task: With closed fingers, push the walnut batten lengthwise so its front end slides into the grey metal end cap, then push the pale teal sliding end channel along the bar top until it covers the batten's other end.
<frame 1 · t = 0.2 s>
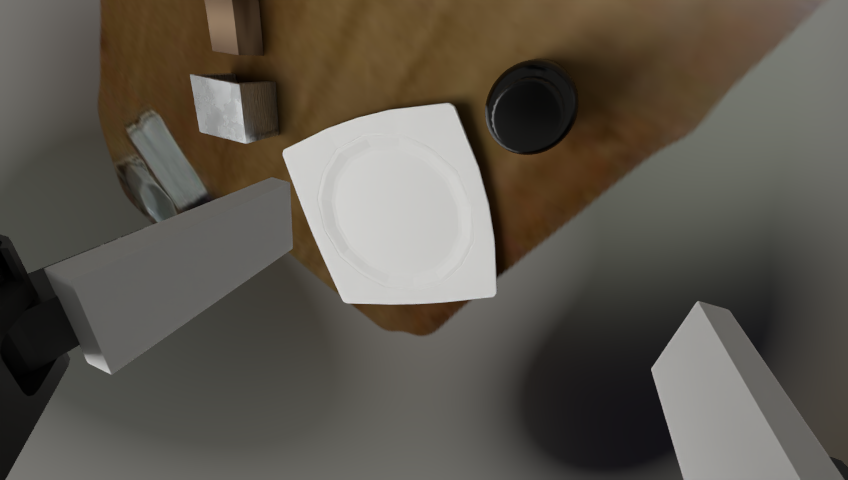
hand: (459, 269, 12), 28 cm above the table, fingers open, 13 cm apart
end cap A: (255, 102, 44), on the table
plate: (396, 213, 45), on the table
supplement bottle: (535, 99, 34), on the table
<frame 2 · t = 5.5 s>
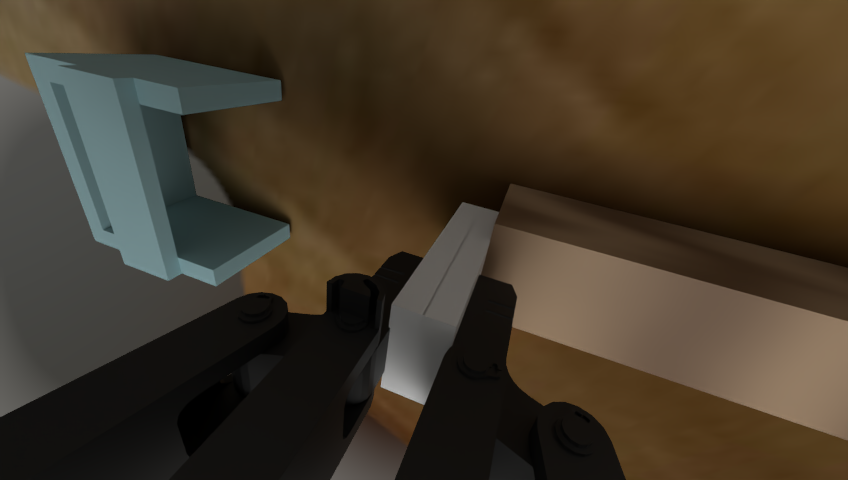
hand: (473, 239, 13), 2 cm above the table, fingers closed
batten: (654, 265, 13), on the table, touching gripper
sliding cap B: (177, 165, 15), point 3 cm above the table, slide at 0.0 cm
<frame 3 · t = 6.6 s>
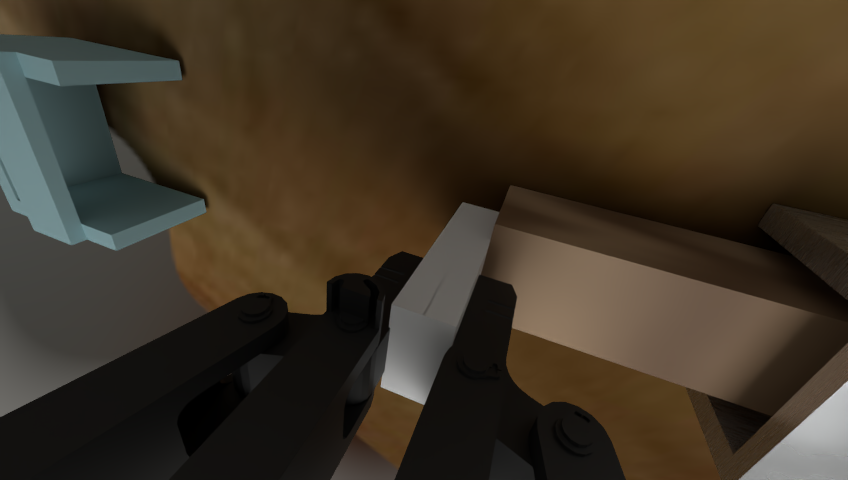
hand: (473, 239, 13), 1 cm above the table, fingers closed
end cap A: (809, 312, 12), on the table
batten: (654, 266, 13), on the table, touching gripper
sliding cap B: (85, 139, 16), point 3 cm above the table, slide at 0.0 cm
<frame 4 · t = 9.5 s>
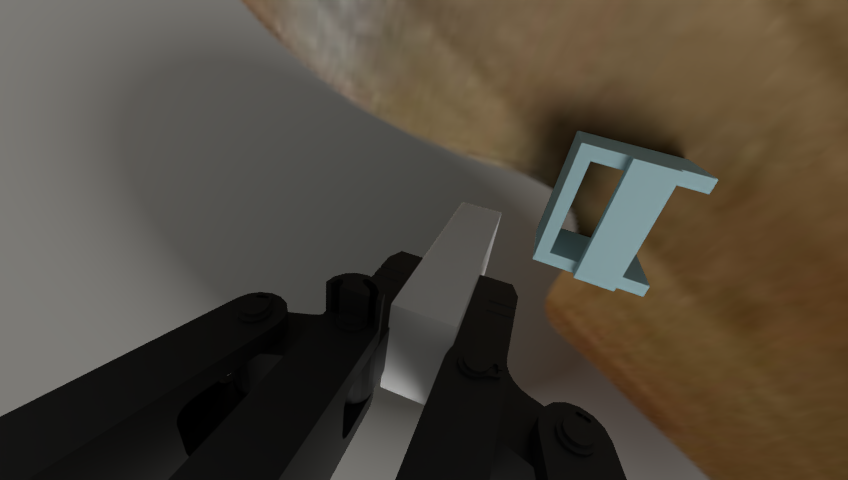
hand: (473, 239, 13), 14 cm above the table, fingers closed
sliding cap B: (609, 212, 22), point 3 cm above the table, slide at 0.0 cm
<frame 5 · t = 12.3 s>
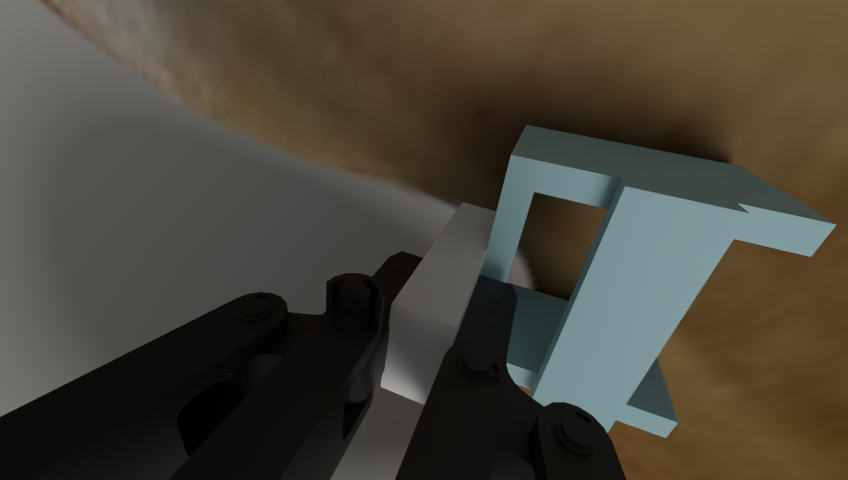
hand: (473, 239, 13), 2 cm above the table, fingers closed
sliding cap B: (591, 274, 12), point 3 cm above the table, slide at 0.7 cm, touching gripper
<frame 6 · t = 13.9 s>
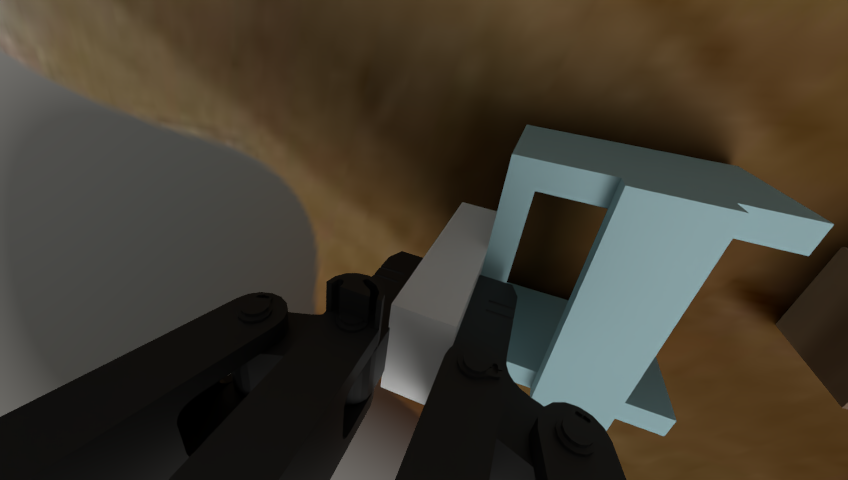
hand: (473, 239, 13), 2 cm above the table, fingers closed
sliding cap B: (591, 273, 12), point 3 cm above the table, slide at 12.2 cm, touching gripper
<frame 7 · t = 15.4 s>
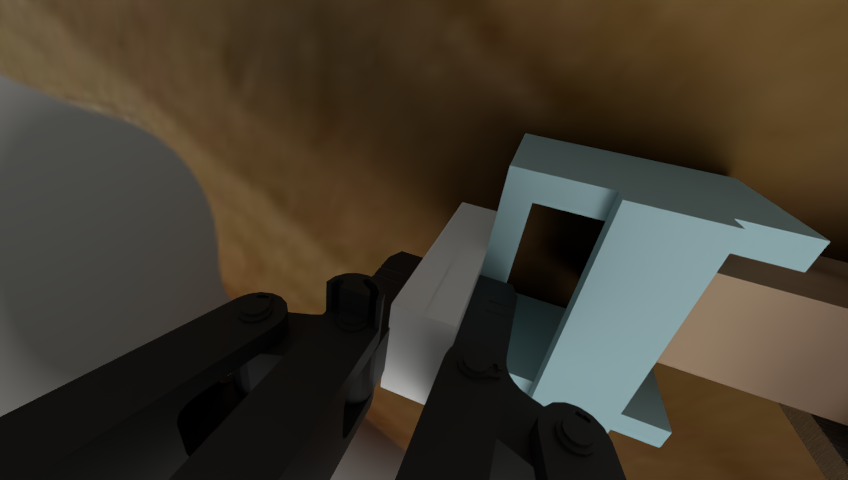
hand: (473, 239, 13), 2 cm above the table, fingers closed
batten: (771, 289, 13), on the table
sliding cap B: (588, 283, 12), point 3 cm above the table, slide at 19.1 cm, touching gripper
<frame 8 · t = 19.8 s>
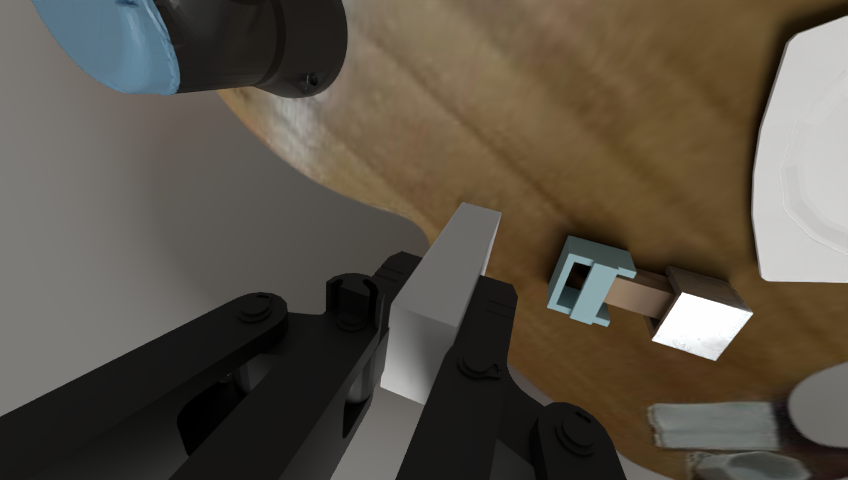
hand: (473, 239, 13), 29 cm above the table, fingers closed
end cap A: (681, 296, 41), on the table
batten: (643, 283, 42), on the table
sliding cap B: (587, 281, 41), point 3 cm above the table, slide at 19.2 cm
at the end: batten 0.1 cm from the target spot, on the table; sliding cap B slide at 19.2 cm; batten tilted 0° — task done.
